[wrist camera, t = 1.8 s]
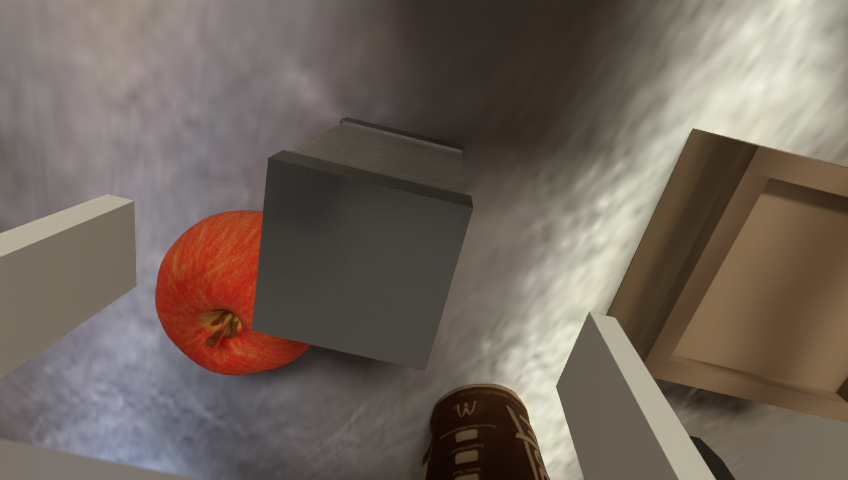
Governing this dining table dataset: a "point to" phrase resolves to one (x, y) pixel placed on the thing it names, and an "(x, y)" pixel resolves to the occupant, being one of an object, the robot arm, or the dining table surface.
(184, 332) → the apple
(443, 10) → the dining table surface
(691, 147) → the walnut stand
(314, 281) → the block
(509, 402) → the coffee cup
